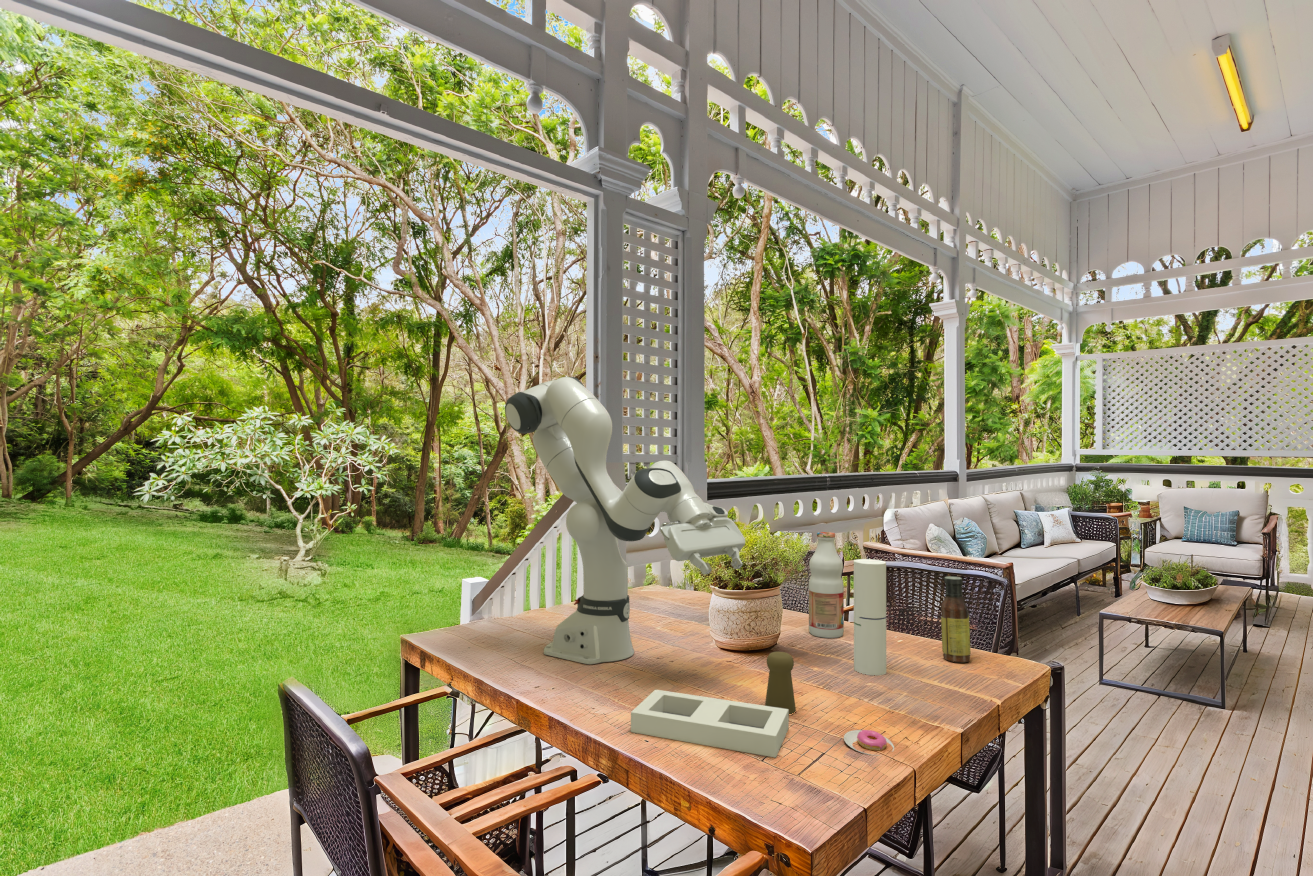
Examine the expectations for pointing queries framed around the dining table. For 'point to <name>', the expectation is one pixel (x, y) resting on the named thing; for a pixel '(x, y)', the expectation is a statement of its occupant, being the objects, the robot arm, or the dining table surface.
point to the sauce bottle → (955, 623)
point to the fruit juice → (826, 589)
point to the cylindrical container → (870, 616)
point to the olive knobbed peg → (780, 681)
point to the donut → (867, 740)
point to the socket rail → (712, 722)
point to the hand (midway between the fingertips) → (723, 569)
